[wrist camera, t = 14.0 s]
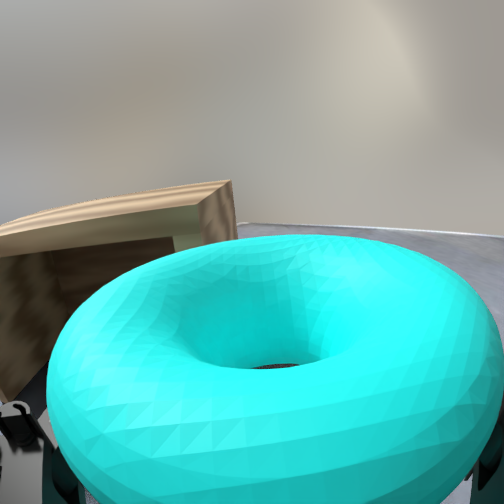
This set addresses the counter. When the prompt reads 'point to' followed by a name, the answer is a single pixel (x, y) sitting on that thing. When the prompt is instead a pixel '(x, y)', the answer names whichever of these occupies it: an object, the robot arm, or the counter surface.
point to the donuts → (278, 377)
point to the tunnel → (91, 260)
